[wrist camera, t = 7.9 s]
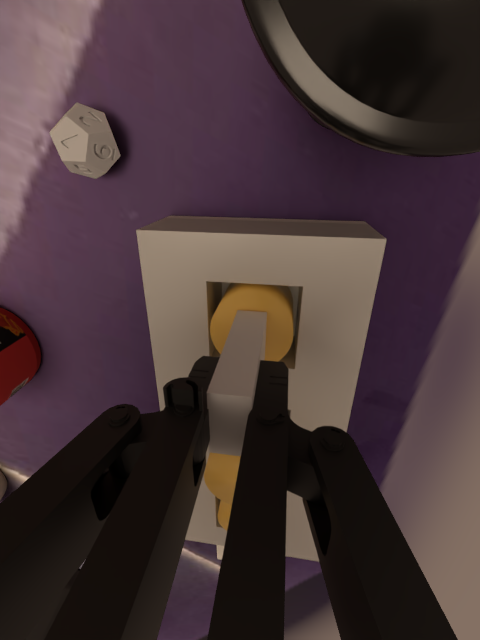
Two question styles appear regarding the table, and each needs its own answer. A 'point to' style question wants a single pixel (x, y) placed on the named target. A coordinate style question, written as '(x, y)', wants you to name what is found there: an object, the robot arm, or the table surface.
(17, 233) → the table surface
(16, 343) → the canned food
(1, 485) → the cupcake
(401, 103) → the drinking cup
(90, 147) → the game die
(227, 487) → the button mid
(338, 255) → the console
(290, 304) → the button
